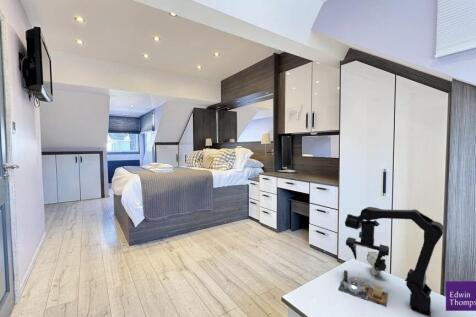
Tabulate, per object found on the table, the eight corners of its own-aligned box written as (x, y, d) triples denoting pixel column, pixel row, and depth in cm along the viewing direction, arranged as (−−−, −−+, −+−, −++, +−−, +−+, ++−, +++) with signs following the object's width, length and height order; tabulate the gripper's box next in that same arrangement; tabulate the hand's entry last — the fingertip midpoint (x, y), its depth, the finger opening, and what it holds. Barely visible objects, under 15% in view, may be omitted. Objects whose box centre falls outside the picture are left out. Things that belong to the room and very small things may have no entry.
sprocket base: (369, 287, 113) (369, 285, 113) (365, 299, 104) (365, 298, 104) (343, 278, 121) (343, 277, 121) (338, 289, 111) (338, 288, 111)
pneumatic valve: (374, 269, 130) (375, 249, 130) (386, 281, 119) (387, 259, 118) (364, 268, 131) (365, 248, 130) (375, 280, 119) (375, 258, 119)
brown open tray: (387, 296, 107) (387, 292, 107) (386, 306, 99) (386, 303, 99) (369, 290, 111) (369, 286, 111) (367, 299, 104) (367, 296, 104)
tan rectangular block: (382, 295, 106) (382, 287, 106) (381, 301, 102) (382, 292, 102) (373, 292, 108) (374, 284, 108) (372, 298, 104) (373, 289, 104)
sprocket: (344, 276, 121) (344, 265, 120) (370, 285, 113) (370, 273, 113) (337, 287, 111) (337, 274, 111) (365, 298, 104) (365, 284, 103)
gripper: (390, 231, 114) (388, 261, 115) (350, 223, 125) (348, 250, 126) (389, 239, 105) (387, 271, 106) (346, 229, 116) (344, 258, 117)
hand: (365, 262), depth 114 cm, fingers open, 9 cm apart
